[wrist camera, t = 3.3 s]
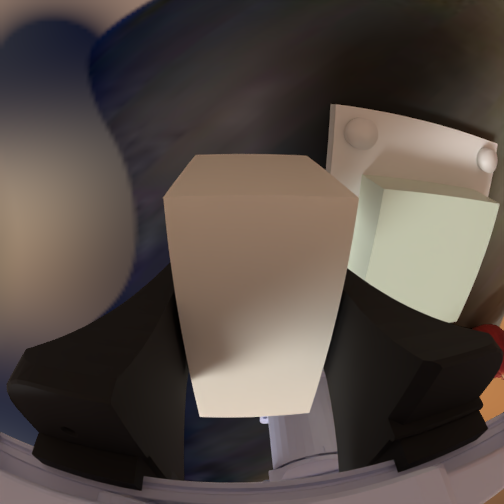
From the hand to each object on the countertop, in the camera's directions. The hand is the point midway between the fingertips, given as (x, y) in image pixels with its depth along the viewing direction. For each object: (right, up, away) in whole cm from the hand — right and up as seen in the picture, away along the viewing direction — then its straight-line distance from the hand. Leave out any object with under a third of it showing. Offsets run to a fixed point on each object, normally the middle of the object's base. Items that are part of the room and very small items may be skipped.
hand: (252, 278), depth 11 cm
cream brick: (0, +1, +1) cm, 2 cm away
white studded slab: (+11, +2, +9) cm, 15 cm away
